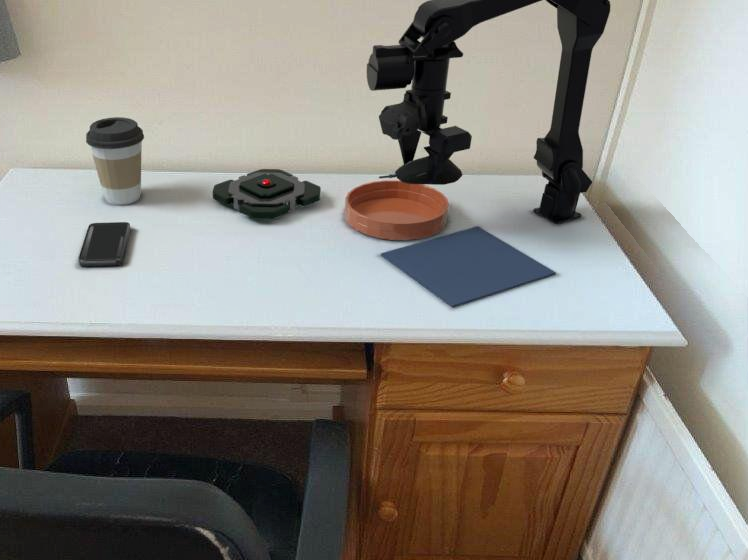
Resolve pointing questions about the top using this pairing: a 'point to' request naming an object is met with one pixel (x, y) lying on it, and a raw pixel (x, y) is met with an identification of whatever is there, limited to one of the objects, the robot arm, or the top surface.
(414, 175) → the gaming mouse
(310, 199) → the clover-shaped pad
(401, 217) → the terracotta plant saucer
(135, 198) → the coffee cup
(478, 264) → the mouse mat
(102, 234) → the phone
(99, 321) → the top surface
